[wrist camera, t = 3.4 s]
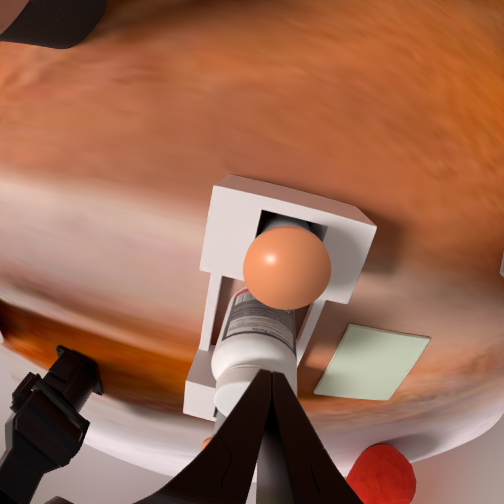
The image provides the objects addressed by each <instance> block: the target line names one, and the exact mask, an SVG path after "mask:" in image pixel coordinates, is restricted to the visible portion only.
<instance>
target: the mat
mask: <svg viewBox="0 0 504 504" xmlns="http://www.w3.org/2000/svg"><path fill="white" fill-rule="evenodd" d="M429 341H430V338H429V337H426V336H419V335H413V334H406V333H400V332H394V331H388V330H382V329H376V328H371V327H365V326H360V325H354V324H349V325H348V327H347V329H346V331H345V333H344V335H343V337H342V339H341V341H340V343H339V345H338V347H337V349H336V351H335V353H334V355H333V357H332V359H331V361H330V363H329V365H328V366H327V368H326V370H325V372H324V374H323V376H322V377H321V379H320V381H319V383H318V385H317V386H316V388H315V390H314V394H319V395H327V396H336V397H346V398H357V399H371V400H389V398H390V397H391V396H392V395H393V393H394V392H395V391H396V389H397V388H398V387H399V385H400V384H401V383H402V381H403V380H404V379H405V377H406V376H407V374H408V373H409V371H410V370H411V369H412V367H413V366H414V364H415V363H416V361H417V360H418V358H419V357H420V355H421V354H422V352H423V350H424V349H425V347H426V346H427V344H428V342H429Z"/></svg>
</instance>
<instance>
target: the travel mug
mask: <svg viewBox="0 0 504 504" xmlns="http://www.w3.org/2000/svg"><path fill="white" fill-rule="evenodd" d="M106 2H107V0H0V41H5V42H15V43H23V44H30V45H37V46H43V47H49V48H55V49H66V48H69V47H71V46H73V45H75V44H77V43H78V42H80V41H81V40H82V39H84V38H85V37H86V36H87V35H88V34H89V33H90V32H91V31H92V29H93V28H94V27H95V26H96V24H97V23H98V21H99V20H100V18H101V16H102V14H103V12H104V10H105V6H106Z"/></svg>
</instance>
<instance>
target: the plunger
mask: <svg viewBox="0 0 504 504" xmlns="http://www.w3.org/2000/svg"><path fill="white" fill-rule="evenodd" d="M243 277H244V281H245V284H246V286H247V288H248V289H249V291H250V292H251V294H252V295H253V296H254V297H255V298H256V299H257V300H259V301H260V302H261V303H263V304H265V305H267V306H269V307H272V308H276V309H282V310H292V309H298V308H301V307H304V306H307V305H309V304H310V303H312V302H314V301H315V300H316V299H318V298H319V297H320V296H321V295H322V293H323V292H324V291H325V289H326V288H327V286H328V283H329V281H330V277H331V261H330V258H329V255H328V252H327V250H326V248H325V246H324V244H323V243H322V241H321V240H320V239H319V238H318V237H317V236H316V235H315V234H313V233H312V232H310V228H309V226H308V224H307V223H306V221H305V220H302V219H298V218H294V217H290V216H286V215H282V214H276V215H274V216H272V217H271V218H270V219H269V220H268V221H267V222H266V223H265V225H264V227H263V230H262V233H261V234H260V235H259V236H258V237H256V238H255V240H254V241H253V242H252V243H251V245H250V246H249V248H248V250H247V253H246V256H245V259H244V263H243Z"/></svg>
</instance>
